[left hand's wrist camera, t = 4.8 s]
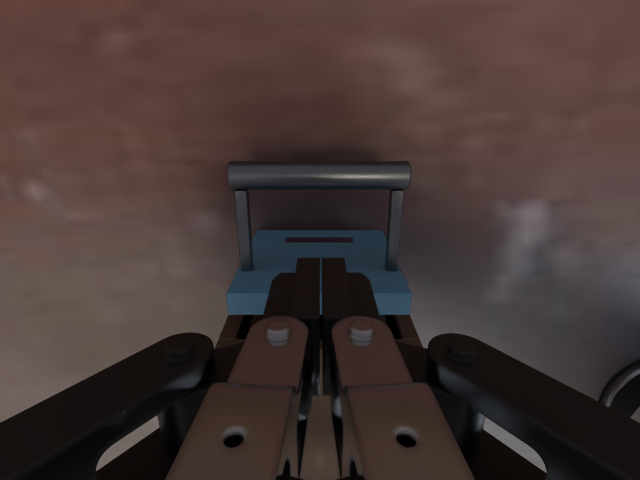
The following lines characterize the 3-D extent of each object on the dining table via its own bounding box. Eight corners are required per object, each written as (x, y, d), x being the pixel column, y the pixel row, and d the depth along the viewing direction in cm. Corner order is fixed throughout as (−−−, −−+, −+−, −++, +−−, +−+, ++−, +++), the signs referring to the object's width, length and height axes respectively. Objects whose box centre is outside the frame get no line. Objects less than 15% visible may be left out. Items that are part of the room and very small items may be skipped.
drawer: (251, 145, 24) (213, 171, 16) (387, 145, 24) (423, 171, 16) (268, 428, 33) (251, 545, 24) (369, 428, 33) (387, 545, 24)
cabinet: (252, 257, 28) (213, 349, 18) (386, 257, 28) (424, 349, 18) (265, 450, 35) (243, 597, 25) (373, 450, 35) (395, 597, 25)
